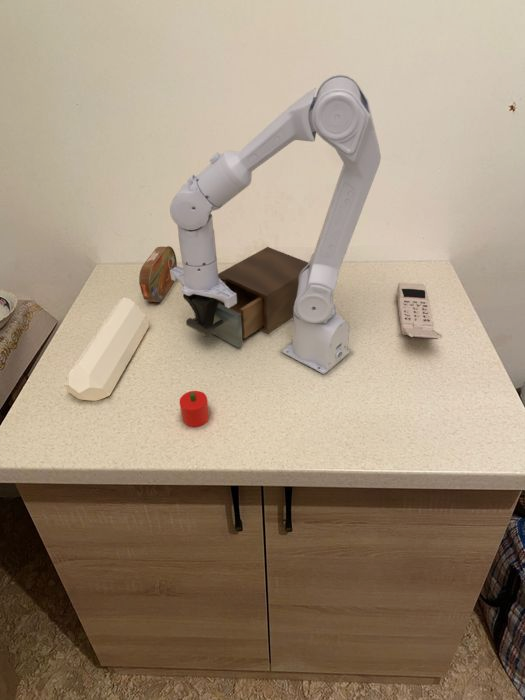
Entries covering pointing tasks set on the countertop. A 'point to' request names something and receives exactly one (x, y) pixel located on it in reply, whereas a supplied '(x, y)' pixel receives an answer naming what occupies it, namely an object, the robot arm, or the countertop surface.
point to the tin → (157, 274)
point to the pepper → (194, 408)
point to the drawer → (234, 317)
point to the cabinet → (269, 283)
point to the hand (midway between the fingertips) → (206, 325)
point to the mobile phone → (415, 311)
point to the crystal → (108, 353)
